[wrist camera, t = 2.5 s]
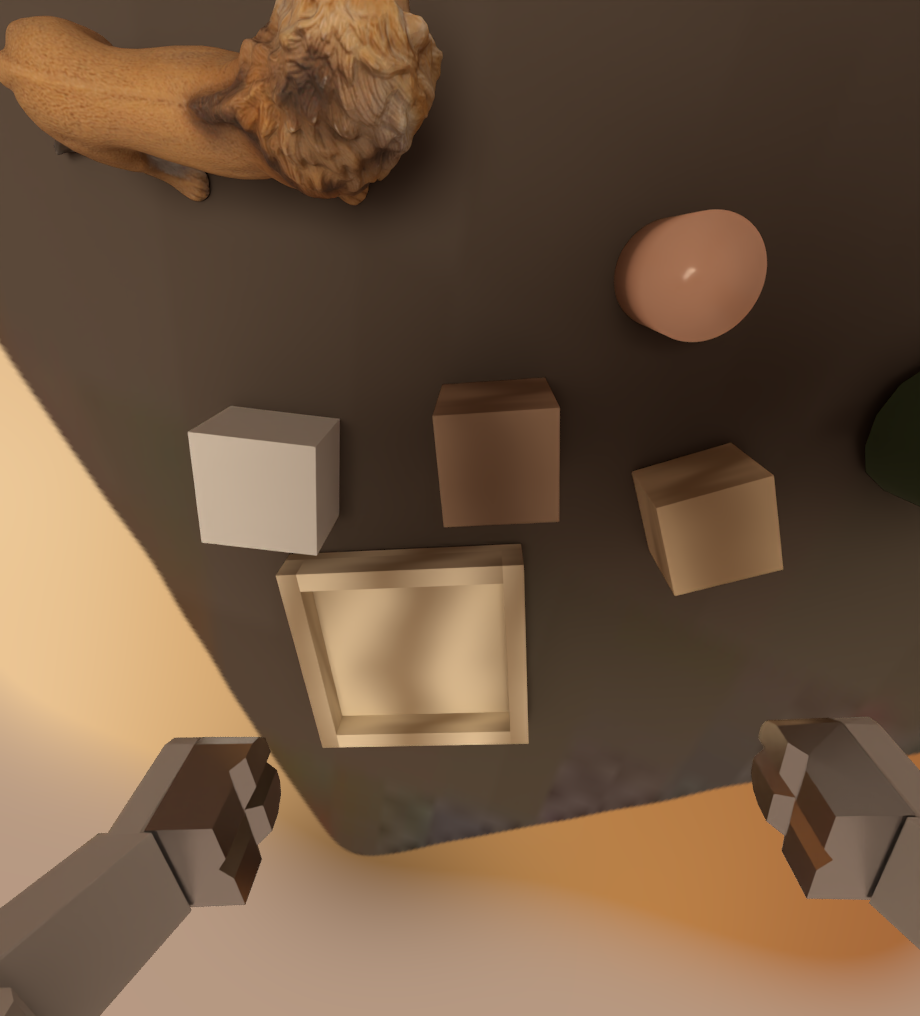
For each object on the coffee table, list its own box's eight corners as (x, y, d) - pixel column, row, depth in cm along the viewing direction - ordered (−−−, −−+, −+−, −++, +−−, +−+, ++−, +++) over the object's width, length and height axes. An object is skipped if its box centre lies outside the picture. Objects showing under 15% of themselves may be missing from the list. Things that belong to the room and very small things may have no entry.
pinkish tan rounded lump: (724, 212, 20) (778, 203, 16) (709, 323, 21) (755, 337, 18) (616, 221, 20) (646, 215, 16) (611, 330, 22) (637, 346, 18)
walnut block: (545, 377, 23) (559, 407, 18) (545, 472, 25) (559, 521, 20) (442, 384, 23) (432, 415, 19) (451, 477, 25) (443, 527, 21)
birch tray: (520, 543, 26) (523, 564, 25) (525, 715, 32) (528, 743, 30) (289, 554, 27) (275, 575, 25) (331, 720, 32) (322, 747, 31)
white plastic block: (340, 418, 24) (315, 446, 20) (339, 514, 26) (316, 555, 23) (232, 405, 24) (187, 431, 20) (240, 502, 26) (201, 542, 23)
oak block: (729, 441, 24) (773, 475, 20) (740, 524, 26) (783, 569, 22) (630, 470, 25) (656, 508, 21) (648, 549, 26) (674, 596, 23)
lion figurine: (447, 20, 18) (418, -179, 10) (460, 201, 20) (445, 166, 12) (39, 69, 19) (-301, -73, 11) (95, 236, 21) (-148, 225, 13)
